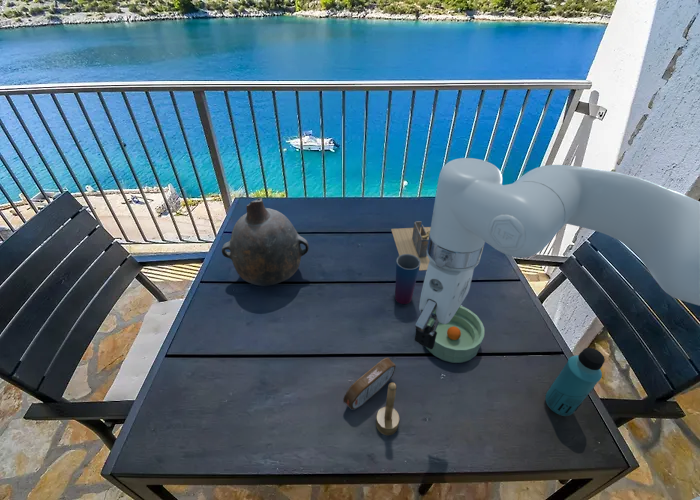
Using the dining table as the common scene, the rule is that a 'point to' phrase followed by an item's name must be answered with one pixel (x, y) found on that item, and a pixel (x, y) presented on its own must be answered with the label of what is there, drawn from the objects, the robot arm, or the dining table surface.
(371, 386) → the tin
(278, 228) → the jug
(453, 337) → the ball
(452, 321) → the bowl
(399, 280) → the cup
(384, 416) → the wooden pestle
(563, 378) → the beverage bottle
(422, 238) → the ruin model on sheet
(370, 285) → the dining table surface
